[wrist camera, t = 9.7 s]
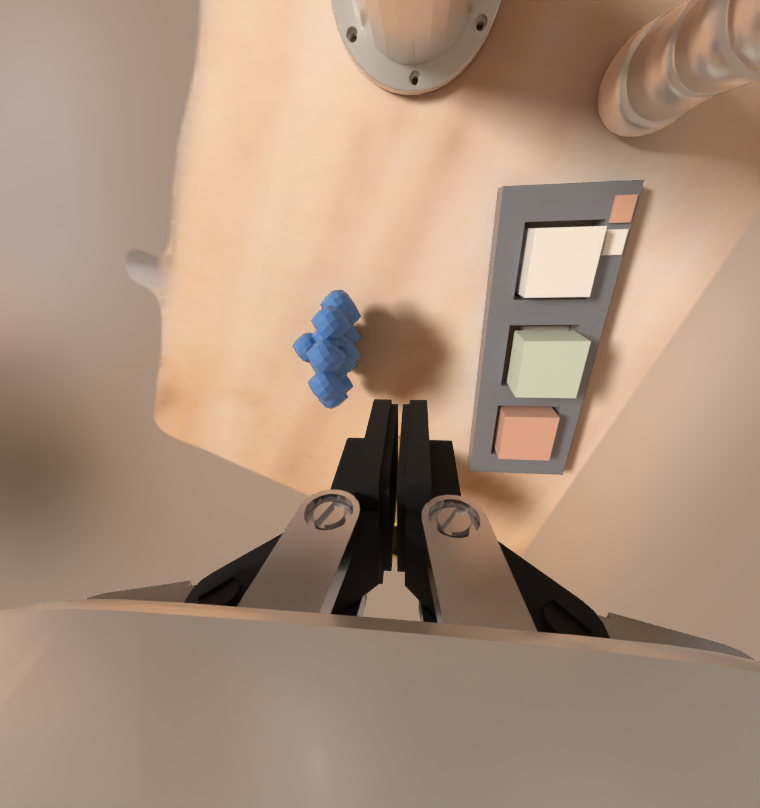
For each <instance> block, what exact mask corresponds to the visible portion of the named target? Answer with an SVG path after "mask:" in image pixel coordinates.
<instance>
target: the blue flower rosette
mask: <svg viewBox="0 0 760 808" xmlns="http://www.w3.org/2000/svg"><path fill="white" fill-rule="evenodd" d="M320 305H321V307H322V309H321V310H320V311H319V312H318V313H317V314H316V315H315V316H314V317H313V319H312V320H311V321H312V323H313V325H314V327H315V328H316V330H317V331H316V332H315V333H314V334H312V333H306V334H303V335H302V336H301V337H300V338H298V339H297V340H296V342H295V343H294V344H293V347H294V349H295V351H296V353H297V354H298V356H299V357H300V358H301V359H302V360H303V361H305V362H308V363H310V364H311V366H312V368H313V370H314V371H315V373H316V375H315V376H313V377H312V378H311V379H310V380H309V382H308V384H309V386H310V388H311V390H312V391H313V393H314V394H315V395H316V396H317V397H318V399H319V401H320V402H321V403H322V404H323V405H324V406H325V407H326V408H330V409H332V408H334V407H336V406H339V405H340V404H341V403H342V402H343V401H345V400H346V399H347V398H348V396H347V394H346V393H347V392H348V391H349V390H350V389H351V388H352V387H353V385H352V383H351V381H350V380H349V378H348V377H347V373H348V372H350V371H351V370H352V369H354V368H355V367H356V366H357V365H358V363H357V360H358V359H359V358H360V357H361V354H360V352H359V350H358V349H357V347H356V346H355V345H354V344H355V343H357V342H358V341H359V340H360V338H361V337H360V335H359V333H358V332H357V330H356V329H355V327H354V326H353V324H354V323H355V322H356V321H357V320H358V319H359V318H360V317H361V315H360V313H359V311H358V310H357V308H356V306H355V304H354V303H353V301H352V300H351V298H350V297H349V295H348V294H347V293H346V292H344V291H343V290H335V291H332V292H331V293H330V294H329V295H328V296H327V297H326V298H325V299H324V300H323V301H322V302H321V304H320Z"/></svg>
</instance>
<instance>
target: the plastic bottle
mask: <svg viewBox="0 0 760 808" xmlns="http://www.w3.org/2000/svg"><path fill="white" fill-rule="evenodd" d="M759 80H760V0H686V1H685V2H683V3H682V4H680V5H679V6H678V7H676V8H674V9H672V10H670V11H668V12H666V13H664V14H662V15H661V16H659V17H657V18H655V19H654V20H652V21H651V22H649V23H647V24H646V25H644V26H643V27H642V28H640V29H639V30H638V31H636V32H635V33H634V34H633V35H632V36H631V37H630V38H629V39H628V40H627V41H626V42H625V44H624V45H623V46H622V48H621V49H620V50H619V52H618V53H617V54H616V56H615V57H614V59H613V60H612V62H611V63H610V65H609V67H608V68H607V70H606V72H605V74H604V77H603V79H602V82H601V85H600V89H599V94H598V109H599V115H600V117H601V120H602V122H603V124H604V125H605V127H606V128H607V129H608V130H610V131H611V132H612V133H614V134H616V135H619V136H624V137H632V136H644V135H648V134H652V133H655V132H657V131H659V130H661V129H663V128H665V127H666V126H668V125H670V124H671V123H673V122H674V121H676V120H677V119H679V118H680V117H682V116H683V115H685V114H686V113H687V112H688V111H690V110H691V109H692V108H694V107H696V106H697V105H699V104H701V103H703V102H704V101H706V100H708V99H710V98H711V97H713V96H715V95H718V94H721V93H723V92H725V91H729V90H731V89H734V88H737V87H739V86H742V85H745V84H748V83H751V82H755V81H759Z"/></svg>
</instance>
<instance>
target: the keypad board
mask: <svg viewBox="0 0 760 808" xmlns="http://www.w3.org/2000/svg"><path fill="white" fill-rule="evenodd" d="M643 182H644V180H632V181H610V182H588V183H566V184H544V185H522V186H503V187H501V188H499V189H498V194H497V203H496V212H495V221H494V230H493V239H492V248H491V257H490V266H489V276H488V285H487V294H486V303H485V312H484V321H483V330H482V339H481V348H480V357H479V366H478V375H477V384H476V393H475V402H474V411H473V420H472V429H471V438H470V447H469V456H468V464H469V469H470V471H478V472H505V473H532V474H559V475H563V471H564V468H565V464H566V460H567V457H568V453H569V450H570V446H571V442H572V439H573V435H574V431H575V428H576V424H577V421H578V417H579V413H580V410H581V406H582V403H583V399H584V395H585V392H586V388H587V384H588V381H589V377H590V374H591V370H592V366H593V363H594V359H595V356H596V352H597V348H598V345H599V341H600V338H601V334H602V330H603V327H604V323H605V319H606V316H607V312H608V309H609V305H610V301H611V298H612V294H613V291H614V287H615V283H616V280H617V276H618V272H619V269H620V265H621V262H622V258H623V254H624V251H625V247H626V244H627V240H628V236H629V233H630V229H631V225H632V222H633V218H634V215H635V211H636V207H637V204H638V200H639V197H640V193H641V189H642V186H643ZM572 220H595V221H594V225H593V226H607V229H606V233H605V237H604V241H603V245H602V249H601V253H600V257H599V261H598V265H597V269H596V273H595V277H594V282H593V286H592V290H591V294H590V297H549V298H524V297H522V296H514V293H515V286H516V280H517V273H518V266H519V259H520V253H521V246H522V239H523V232H524V225H525V222H543V221H572ZM510 325H570V329H569V330H574V331H576V332H577V333H579V334H580V335H582V336H584V337H585V338H587V339H588V340H590V341H591V343H590V347H589V351H588V355H587V359H586V362H585V366H584V370H583V374H582V377H581V381H580V385H579V389H578V392H577V396H576V398H523V397H515V396H514V394H513V392H512V391H511V389H510V387H509V386H508V384H507V379H502V375H503V368H504V361H505V354H506V347H507V341H508V334H509V327H510ZM498 406H552V408H553V409H554V411H555V412H556V413H557V415H558V416H559V417H560V419H559V423H558V427H557V431H556V435H555V439H554V443H553V447H552V451H551V455H550V459H549V461H545V460H515V459H498V456H497V453H496V451H495V448H494V445H492V442H493V436H494V429H495V422H496V415H497V408H498Z"/></svg>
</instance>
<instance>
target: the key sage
mask: <svg viewBox="0 0 760 808" xmlns="http://www.w3.org/2000/svg"><path fill="white" fill-rule="evenodd" d="M590 343H591V341H590V340H588V339H587V338H585V337H584V336H582V335H580V334H579V333H577V332H576V331H574V330H554V331H515V332H514V339H513V345H512V352H511V358H510V364H509V371H508V377H507V384H508V386H509V387H510V389H511V391H512V392H513V394H514V396H515V397H523V398H576V396H577V392H578V389H579V385H580V381H581V377H582V374H583V370H584V366H585V362H586V359H587V355H588V351H589V347H590Z"/></svg>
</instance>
